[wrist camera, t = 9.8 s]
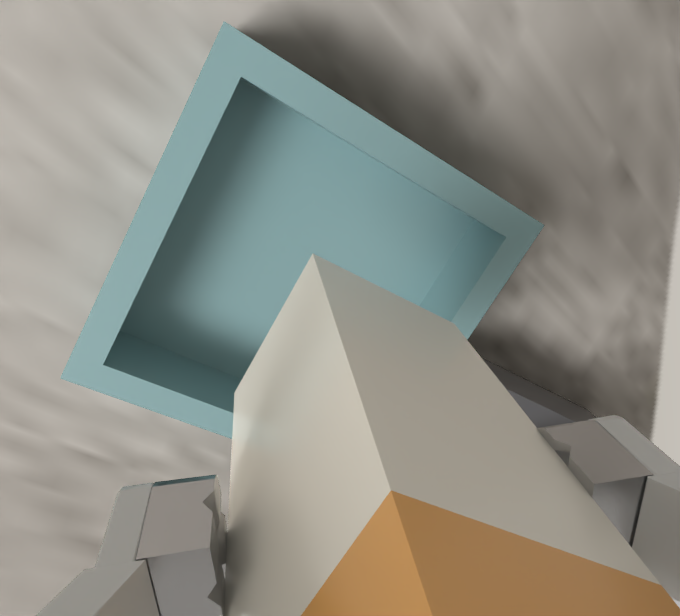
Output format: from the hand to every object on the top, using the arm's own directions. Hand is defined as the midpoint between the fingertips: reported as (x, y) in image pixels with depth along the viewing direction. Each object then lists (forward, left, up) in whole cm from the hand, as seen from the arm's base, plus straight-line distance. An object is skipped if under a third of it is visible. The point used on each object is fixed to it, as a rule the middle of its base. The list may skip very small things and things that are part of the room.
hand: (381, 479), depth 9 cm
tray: (0, 0, -13) cm, 13 cm away
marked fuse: (0, 0, -4) cm, 4 cm away
